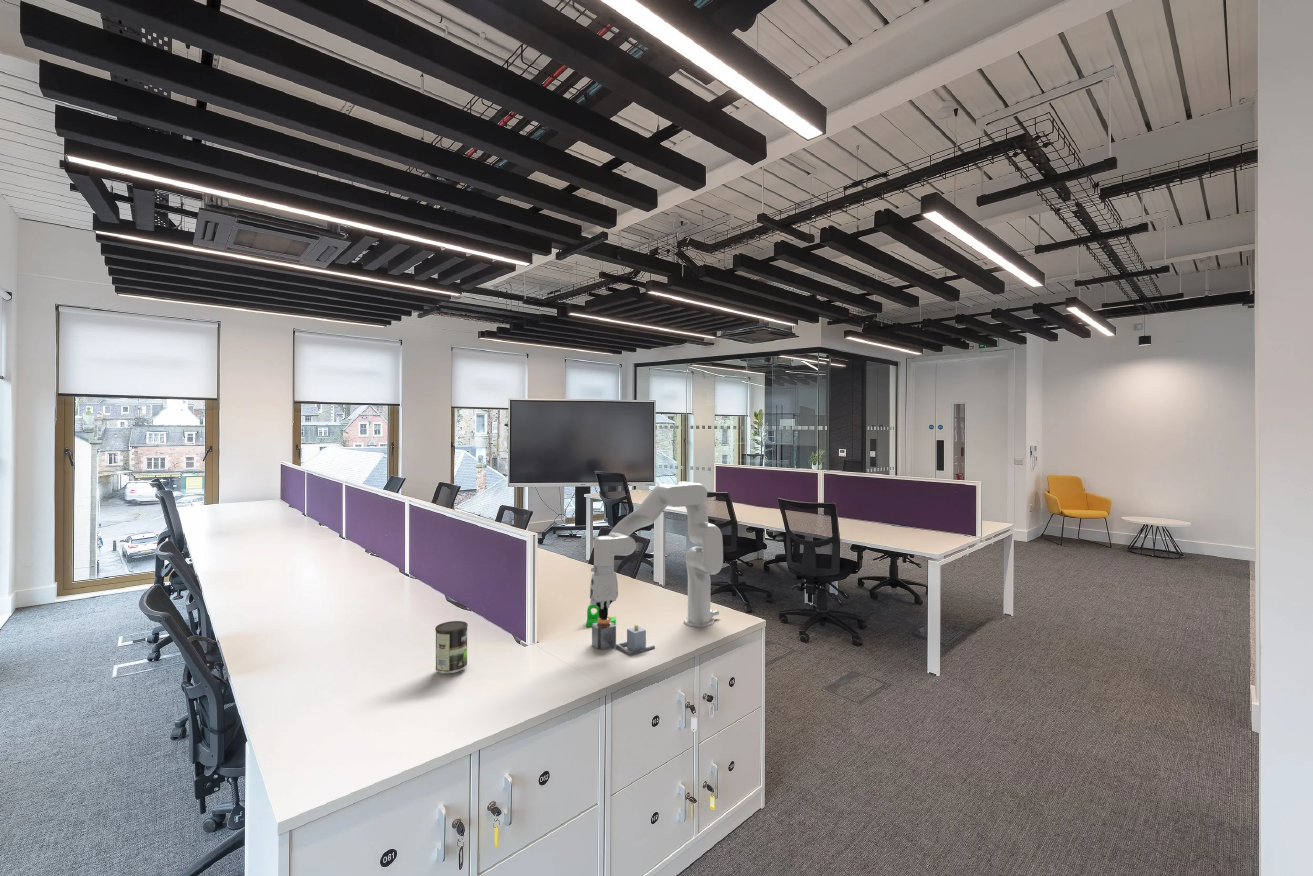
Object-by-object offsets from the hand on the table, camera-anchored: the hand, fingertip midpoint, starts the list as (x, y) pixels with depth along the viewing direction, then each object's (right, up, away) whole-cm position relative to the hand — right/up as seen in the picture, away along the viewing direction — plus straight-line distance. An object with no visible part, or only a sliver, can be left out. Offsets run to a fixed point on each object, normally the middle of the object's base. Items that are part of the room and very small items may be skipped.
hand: (603, 618), depth 202 cm
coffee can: (-50, -10, -19) cm, 54 cm away
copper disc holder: (0, -10, 0) cm, 10 cm away
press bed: (+13, -10, -3) cm, 17 cm away
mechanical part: (-3, -11, +25) cm, 27 cm away
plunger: (0, -9, 0) cm, 9 cm away
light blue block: (+13, -10, -3) cm, 16 cm away
